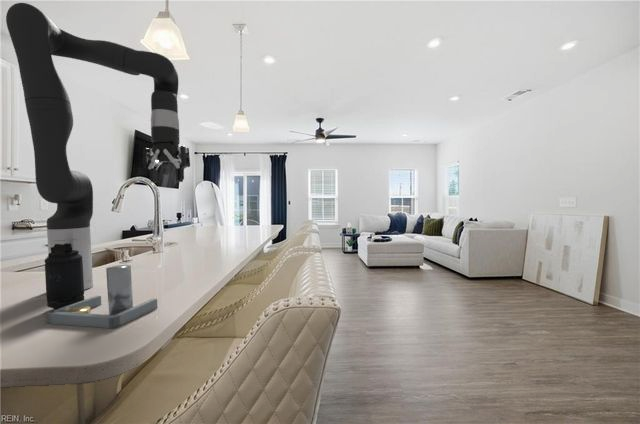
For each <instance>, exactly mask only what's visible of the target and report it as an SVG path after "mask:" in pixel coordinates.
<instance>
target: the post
mask: <svg viewBox="0 0 640 424" xmlns="http://www.w3.org/2000/svg"><path fill="white" fill-rule="evenodd" d="M105 270H106V286H107V303H108V315H116V314H119V313H121V312H123V311H125V310H128V309H130V308H132V307H134V301H133V300H134V299H133V281H132V266H131V264H122V265H121V264H120V265H119V264H118V265H113V266H108V267H106V269H105Z"/></svg>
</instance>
